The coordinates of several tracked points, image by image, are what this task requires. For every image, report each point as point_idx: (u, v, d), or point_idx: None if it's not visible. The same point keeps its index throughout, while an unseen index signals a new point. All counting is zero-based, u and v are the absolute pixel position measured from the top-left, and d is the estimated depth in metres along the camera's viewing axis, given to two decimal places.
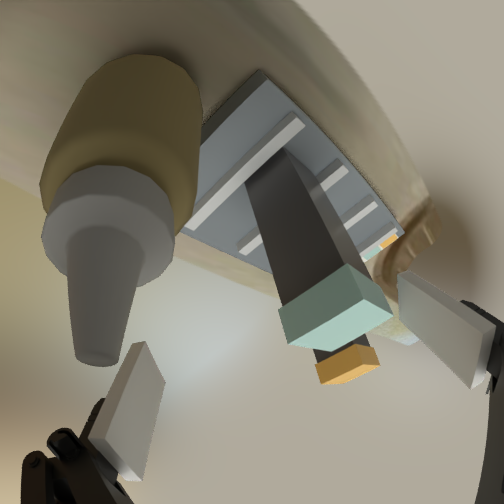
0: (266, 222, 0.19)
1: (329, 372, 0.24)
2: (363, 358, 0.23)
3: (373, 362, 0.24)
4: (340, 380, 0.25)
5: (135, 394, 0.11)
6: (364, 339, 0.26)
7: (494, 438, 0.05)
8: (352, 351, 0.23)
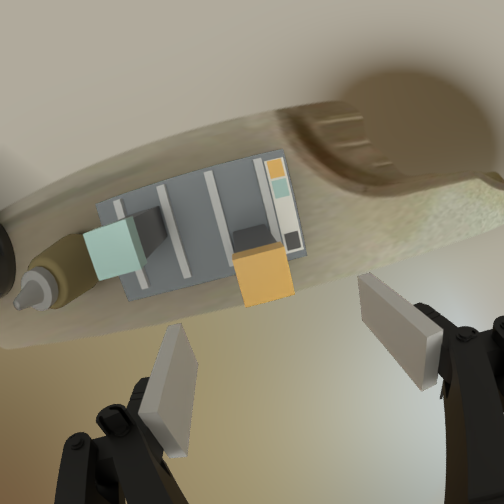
0: None
1: None
2: (239, 256, 0.25)
3: (266, 250, 0.25)
4: (268, 292, 0.25)
5: (177, 371, 0.12)
6: (266, 244, 0.27)
7: (453, 445, 0.05)
8: None
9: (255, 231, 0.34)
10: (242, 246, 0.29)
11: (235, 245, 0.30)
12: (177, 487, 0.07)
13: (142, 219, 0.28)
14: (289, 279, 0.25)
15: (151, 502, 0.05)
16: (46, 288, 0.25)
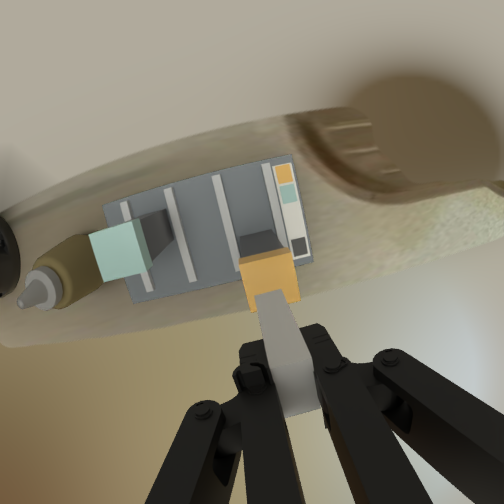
0: None
1: None
2: (246, 261, 0.25)
3: (272, 255, 0.25)
4: None
5: None
6: (273, 249, 0.27)
7: (351, 479, 0.06)
8: None
9: (262, 236, 0.34)
10: (249, 251, 0.29)
11: (242, 250, 0.30)
12: (293, 454, 0.08)
13: (149, 221, 0.28)
14: (295, 285, 0.25)
15: (271, 469, 0.06)
16: (50, 288, 0.25)
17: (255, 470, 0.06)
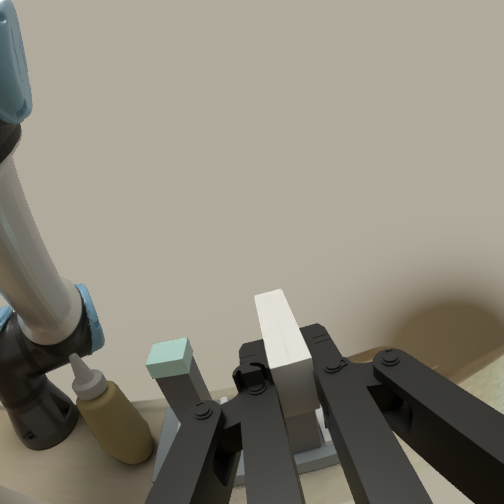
0: None
1: None
2: None
3: None
4: None
5: None
6: None
7: (351, 479, 0.06)
8: None
9: None
10: None
11: None
12: (293, 455, 0.08)
13: (199, 374, 0.34)
14: None
15: (271, 469, 0.06)
16: (97, 378, 0.30)
17: (255, 470, 0.06)
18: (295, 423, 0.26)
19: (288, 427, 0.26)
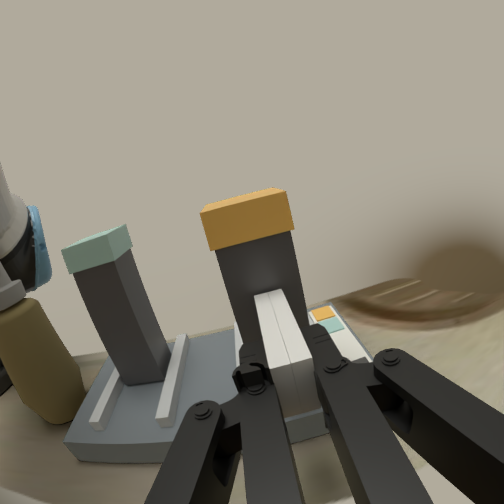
0: None
1: None
2: None
3: None
4: (241, 200, 0.15)
5: None
6: None
7: (351, 478, 0.06)
8: None
9: None
10: None
11: None
12: (293, 455, 0.08)
13: (139, 283, 0.24)
14: (277, 190, 0.16)
15: (271, 469, 0.06)
16: (12, 284, 0.20)
17: (255, 470, 0.06)
18: None
19: (260, 337, 0.17)
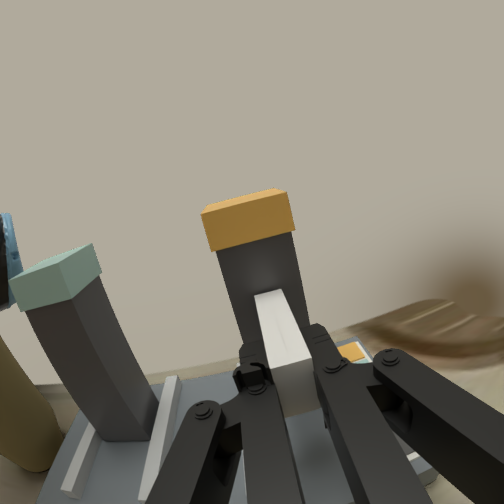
0: None
1: None
2: None
3: None
4: (242, 201, 0.15)
5: None
6: None
7: (351, 479, 0.06)
8: None
9: None
10: None
11: None
12: (293, 455, 0.08)
13: (113, 320, 0.18)
14: (278, 191, 0.16)
15: (271, 469, 0.06)
16: None
17: (255, 470, 0.06)
18: None
19: (261, 338, 0.17)
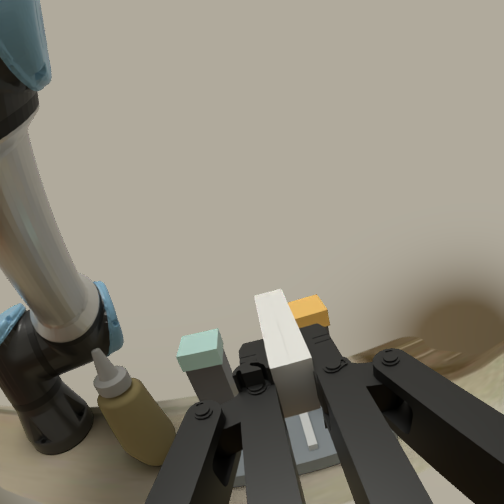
0: None
1: None
2: None
3: (305, 300, 0.35)
4: (305, 311, 0.31)
5: None
6: None
7: (351, 479, 0.06)
8: None
9: None
10: None
11: None
12: (293, 454, 0.08)
13: (229, 367, 0.34)
14: (321, 304, 0.32)
15: (271, 469, 0.06)
16: (121, 374, 0.29)
17: (255, 470, 0.06)
18: None
19: None
